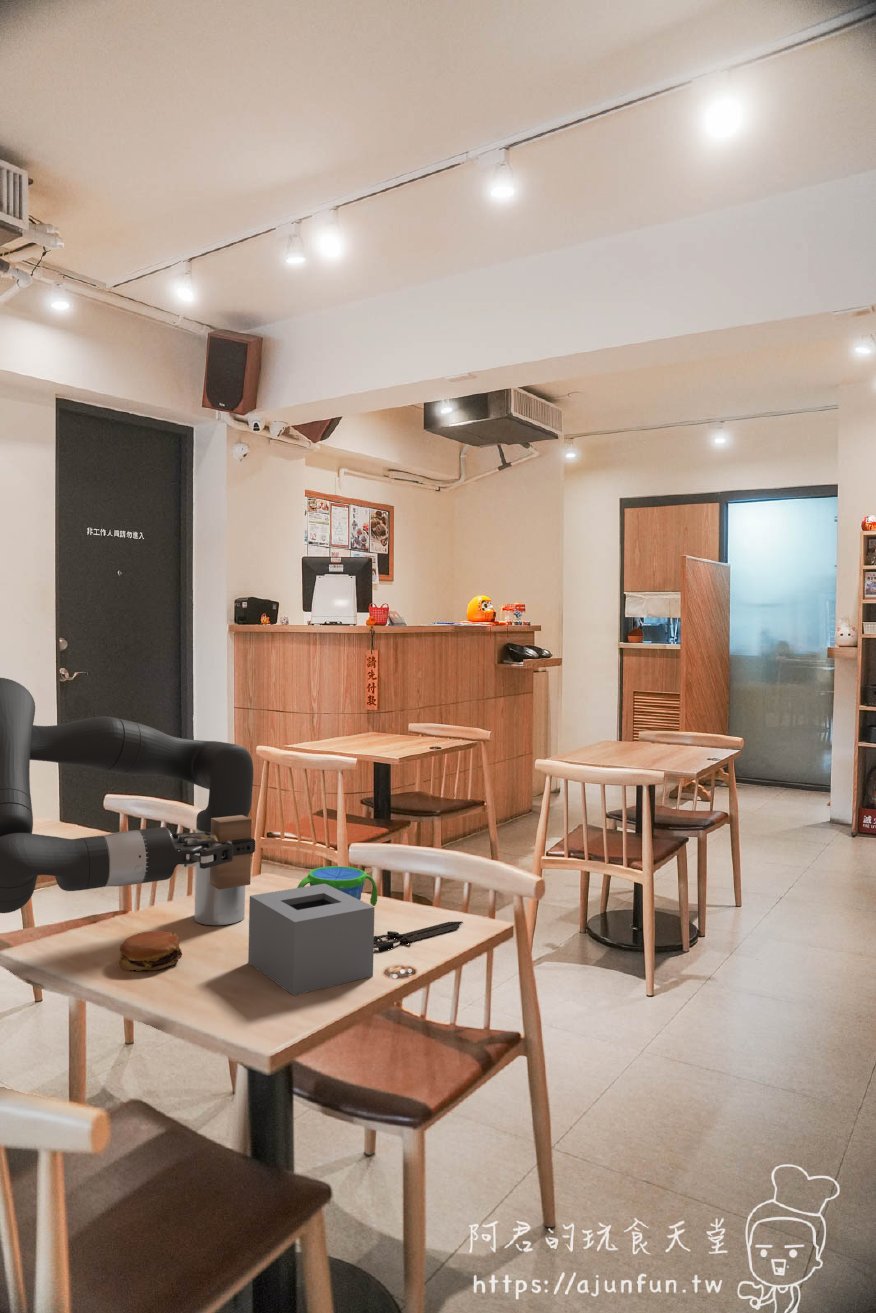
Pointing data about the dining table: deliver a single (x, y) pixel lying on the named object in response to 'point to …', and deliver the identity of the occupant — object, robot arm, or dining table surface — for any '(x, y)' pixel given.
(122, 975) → the dining table surface
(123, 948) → the burger
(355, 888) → the snack cup
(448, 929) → the knife
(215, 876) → the brown rectangular block
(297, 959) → the tissue box
